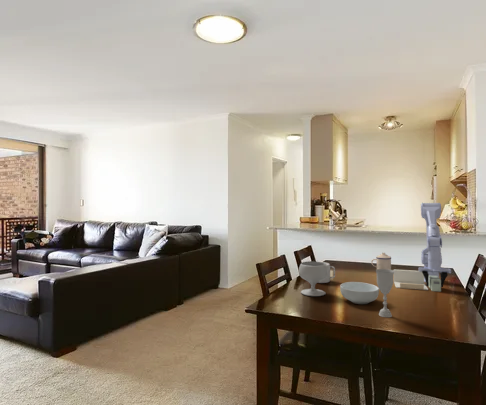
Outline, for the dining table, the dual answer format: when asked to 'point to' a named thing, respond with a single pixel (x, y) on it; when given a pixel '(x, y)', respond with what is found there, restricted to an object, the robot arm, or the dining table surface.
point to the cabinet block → (435, 283)
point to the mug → (327, 273)
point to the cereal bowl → (359, 292)
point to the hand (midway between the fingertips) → (434, 286)
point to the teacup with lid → (383, 261)
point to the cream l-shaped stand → (409, 279)
